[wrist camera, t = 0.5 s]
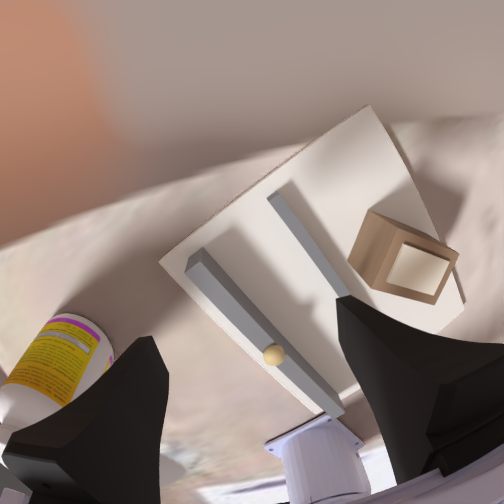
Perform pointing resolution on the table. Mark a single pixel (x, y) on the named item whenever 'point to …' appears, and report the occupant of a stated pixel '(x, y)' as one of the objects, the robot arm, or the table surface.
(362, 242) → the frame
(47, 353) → the supplement bottle
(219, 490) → the table surface
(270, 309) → the wall board
